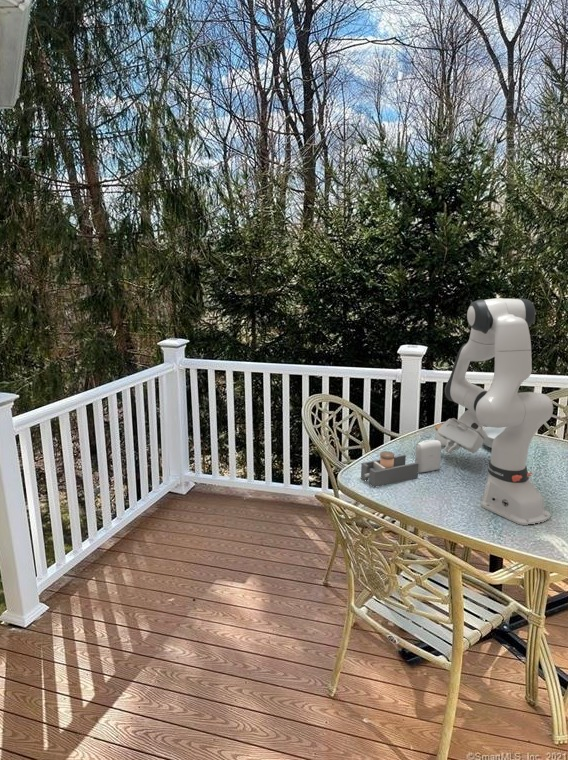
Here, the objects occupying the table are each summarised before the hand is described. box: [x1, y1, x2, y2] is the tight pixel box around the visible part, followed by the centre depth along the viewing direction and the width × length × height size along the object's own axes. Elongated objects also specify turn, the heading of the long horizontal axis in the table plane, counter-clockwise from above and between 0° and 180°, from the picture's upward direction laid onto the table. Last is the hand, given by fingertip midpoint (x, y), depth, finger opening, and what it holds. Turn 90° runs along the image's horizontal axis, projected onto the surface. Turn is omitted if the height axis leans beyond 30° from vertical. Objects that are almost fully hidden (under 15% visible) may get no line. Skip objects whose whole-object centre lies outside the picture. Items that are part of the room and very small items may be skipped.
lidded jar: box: [434, 423, 454, 447], centre depth 234 cm, size 11×11×9 cm
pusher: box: [365, 461, 386, 478], centre depth 199 cm, size 6×6×6 cm
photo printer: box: [414, 439, 442, 474], centre depth 208 cm, size 10×4×12 cm, turn 109°
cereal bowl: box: [482, 426, 506, 449], centre depth 230 cm, size 17×17×7 cm
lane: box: [360, 454, 419, 488], centre depth 202 cm, size 9×20×6 cm, turn 114°
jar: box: [379, 450, 395, 469], centre depth 200 cm, size 5×5×10 cm
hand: (447, 451), depth 212 cm, fingers closed
